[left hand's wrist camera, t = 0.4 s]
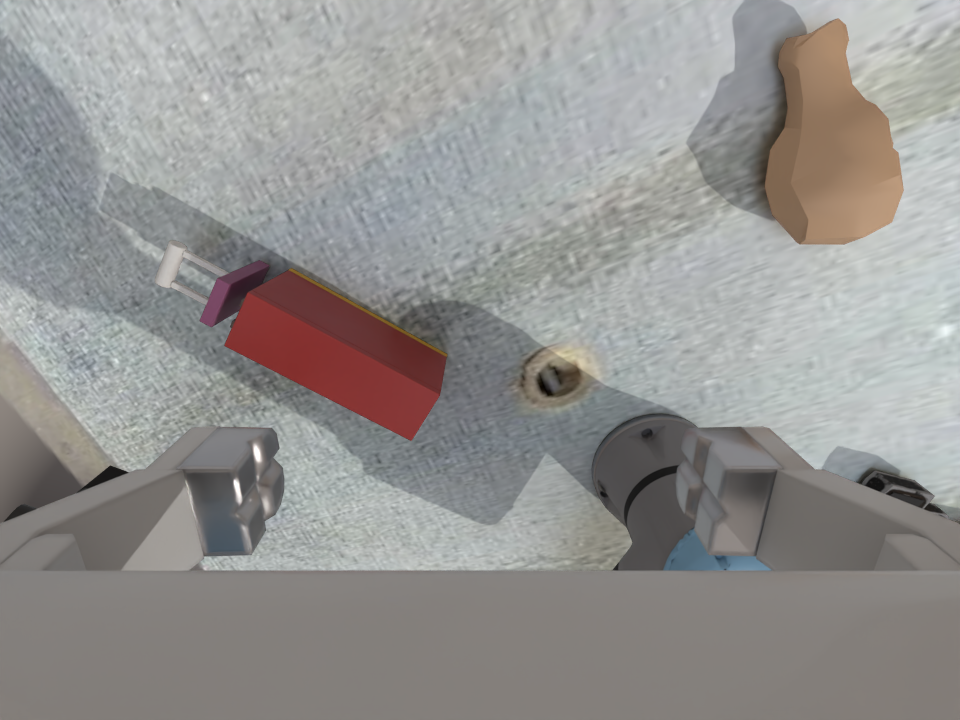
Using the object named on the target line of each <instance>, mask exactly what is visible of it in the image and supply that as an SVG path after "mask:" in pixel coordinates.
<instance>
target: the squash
mask: <svg viewBox="0 0 960 720" xmlns="http://www.w3.org/2000/svg"><path fill="white" fill-rule="evenodd" d="M848 41H849V38H848V33H847V28H846V25H845V24H844V23H843V22H842V21H841V20H840V19H835V20H832V21H830V22H828V23H827V24H825V25H823V26H822V27H820V28H819V29H817V30H815V31H814V32H812V33H810V34H806V35H801V36H796V37H791V38H787V39H786V41H785V42H784V44H783V46H782V48H781V50H780V52H779V59H778V68H779V70H780V72H781V74H782V76H783V78H784V84H785V91H786V99H787V107H788V109H787V115H786V121H785V127H784V129H783V131H782V132H781V134H780V135H779V137H778V138H777V140H776V142H775V143H774V145H773V146H772V148H771V149H770V154H769V161H768V167H767V174H766V181H765V190H766V194H767V198H768V201H769V205H770V209H771V212H772V215H773V216H774V218H775V219H776V220H777V221H778V222H779V223H780V224H781V225H782V227H783V228H784V229H785V230H786V231H787V232H788V233H789V234H790V235H791V237H792V238H793V239H794V240H795V241H796V242H797V243H799V244H846V243H849V242H852V241H855V240H857V239H860V238H863V237H865V236H867V235H869V234H871V233H873V232H875V231H877V230H878V229H880V228H882V227H884V226H886V225H888V224H890V223H891V222H892V221H893V218H894V215H895V212H896V210H897V207H898V204H899V202H900V199H901V196H902V193H903V191H904V189H903V182H902V175H901V168H900V161H899V154H898V152H897V151H896V150H894V149H893V141H892V138H891V134H890V127H889V120H888V118H887V117H886V116H885V115H884V113H883V112H882V111H881V110H880V109H879V108H878V107H877V106H876V105H875V104H873V103H871V102H869V101H867V100H865V98H864V97H863V96H862V95H861V94H860V93H859V91H858V90H857V89H856V88H855V87H854V86H853V84H852V81H851V76H850V71H849V67H848V62H847V58H846V49H847V45H848Z"/></svg>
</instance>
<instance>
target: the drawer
mask: <svg viewBox="0 0 960 720" xmlns="http://www.w3.org/2000/svg"><path fill="white" fill-rule="evenodd" d="M183 258H186V259H188V260H190V261H192V262H194V263H196V264H198V265H199V266H201V267H203V268H205V269H207V270H209V271H211V272H213V273H214V274H216V275H218V276H220V277H219V278H217V280H216V283H215V285H214V287H213V290H212V292H211V295H210V297H209V298H208V297H206V296H204V295H202V294H200V293H198V292H196V291H194V290H193V289H191V288H189V287H187V286H185V285H183V284H181V283H179V282H177V281H175V278H176V276H177V273H178V271H179V268H180V265H181V263H182V260H183ZM268 268H269V265H267V264H266V263H264V262H262V261H260V260H259V261H257V262H254V263H252V264H250V265H247V266H245V267H242V268H240V269H238V270H235V271H233V272H231V273H229V272H227V271H225V270H223V269H221V268H219V267H218V266H216V265H214V264H212V263H210V262H208V261H206V260H205V259H203V258H201V257H199V256H197V255H195V254H193V253H192V252H190V251H188V250H187V246H186V245H184V244H183V243H181V242H178V241H174V240H170V241H169V243H168V245H167V248H166V251H165V253H164V256H163V259H162V262H161V264H160V267H159V270H158V272H157V275H156V278H155V283H156V284H157V285H159V286H162V287H165V288H171V287H172V288H174V289H176V290H178V291H179V292H181V293H183V294H185V295H187V296H189V297H191V298H193V299H195V300H197V301H199V302H201V303H202V304H204V305H206V307H205V309H204V311H203V314H202V316H201V319H200V322H202V323H204V324H206V325H208V326H210V327H213V326H214V325H216V324H218V323H219V322H221V321H223V320H224V319H226V318H228V317H229V316H231V315H233V314H234V313H236V312H238V311H239V310H240V309H241V306H242V304H243V302H244V299H245V297H246V295H247V293H248V292H249V291H251V290H253V289H255V288H257V287H258V286H260V285H261V284H262V282H263V280H264V277H265V275H266V273H267V271H268ZM235 320H236V319H234V320H233V321H232V323H231V326H230V327H231V328H232V327H233V324H234V322H235Z"/></svg>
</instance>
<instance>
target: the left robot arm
mask: <svg viewBox="0 0 960 720" xmlns="http://www.w3.org/2000/svg"><path fill="white" fill-rule="evenodd" d="M278 450H279V443H278V438H277V433H276V432H275V431H274V430H273V429H272V428H248V427H220V426H217V427H193V428H191V429H190V430H189V431H187V432H186V433H185V434H184V435H183V436H182V437H181V438H180V439H178V440H177V441H176V442H175V443H174V444H173V445H172V446H171V447H170V448H168V449H167V450H166V451H165V452H164V453H163V454H162V455H161V456H160V457H158V458H157V459H156V460H155V461H154V462H153V463H152V464H151V465H149V466H148V467H147V468H146V469H145V470H134V471H132V472H129V473H127V474H124V475H122V476H119V477H117V478H114V479H111V480H109V481H106V482H104V483H101V484H99V485H96V486H94V487H91V488H89V489H86V490H84V491H81V492H79V493H76V494H74V495H71V496H69V497H66V498H63V499H61V500H58V501H56V502H53V503H51V504H48V505H46V506H43V507H41V508H38V509H36V510H33V511H31V512H28V513H25V514H23V515H20V516H18V517H15V518H13V519H10V520H8V521H5V522H3V523H0V720H960V524H959V523H957V522H954V521H952V520H949V519H947V518H944V517H942V516H939V515H937V514H934V513H932V512H929V511H927V510H924V509H922V508H919V507H917V506H914V505H912V504H909V503H906V502H904V501H901V500H899V499H896V498H894V497H891V496H889V495H886V494H884V493H881V492H879V491H876V490H874V489H871V488H869V487H866V486H864V485H861V484H859V483H856V482H853V481H851V480H848V479H846V478H843V477H841V476H838V475H836V474H833V473H831V472H828V471H826V470H815V469H814V468H813V467H812V466H811V465H809V464H808V463H807V462H806V461H805V460H804V459H803V458H802V457H801V456H799V455H798V454H797V453H796V452H795V451H794V450H793V449H792V448H791V447H789V446H788V445H787V444H786V443H785V442H784V441H783V440H782V439H781V438H779V437H778V436H777V435H776V434H775V433H774V432H773V431H772V430H771V429H769V428H766V427H763V426H759V427H713V428H690V429H686V430H685V432H684V435H683V437H682V442H681V450H682V451H683V453H684V454H685V456H686V459H685V460H684V461H683V462H682V463H681V464H680V465H679V466H678V467H677V474H676V482H675V483H676V493H677V498H678V502H679V505H680V507H681V509H682V511H683V512H684V514H685V515H686V516H688V517H689V518H691V519H693V520H694V521H695V527H694V531H695V533H696V535H697V536H698V538H699V540H700V541H701V543H702V545H703V546H704V548H705V550H706V551H707V553H708V555H724V556H756V559H757V560H759V561H760V562H761V563H763V564H764V565H765V566H767V567H768V568H770V569H771V570H658V571H188V570H189V569H191V568H192V567H193V566H195V565H196V564H197V563H199V562H200V561H202V560H203V559H204V556H235V555H252V553H253V551H254V550H255V548H256V546H257V545H258V543H259V541H260V540H261V538H262V536H263V535H264V533H265V531H266V527H265V521H266V520H267V519H269V518H271V517H272V516H274V515H275V514H276V512H277V511H278V509H279V507H280V505H281V502H282V497H283V493H284V473H283V467H282V466H281V465H280V464H279V463H278V462H277V461H276V460H275V459H274V456H275V454H276V453H277V451H278Z"/></svg>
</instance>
